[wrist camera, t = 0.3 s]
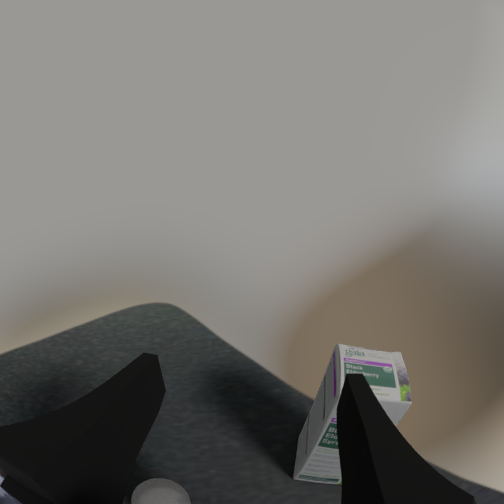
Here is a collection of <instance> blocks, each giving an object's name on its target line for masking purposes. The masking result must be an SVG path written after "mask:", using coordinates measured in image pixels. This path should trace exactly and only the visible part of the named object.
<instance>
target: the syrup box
mask: <svg viewBox="0 0 504 504" xmlns="http://www.w3.org/2000/svg"><path fill="white" fill-rule="evenodd" d="M346 373H362V374H363V375H364V376H365V378H366V380H367V382H368V384H369V386H370V387H371V389H372V391H373V393H374V394H375V396H376V398H377V399H378V401H379V403H380V404H381V406H382V407H383V409H384V410H385V412H386V413H387V415H388V416H389V418H390V419H391V421H392V422H393V424H394V425H395V426H396V425H397V424H398V422H399V421H400V419H401V418H402V417H403V415H404V414H405V412H406V411H407V410H408V408H409V406H410V405H411V403H412V398H411V391H410V386H409V380H408V375H407V371H406V367H405V364H404V361H403V358H402V355H401V352H384V351H379V350H374V349H368V348H361V347H354V346H348V345H343V344H336V346H335V348H334V351H333V354H332V356H331V359H330V362H329V365H328V367H327V370H326V373H325V375H324V378H323V381H322V383H321V385H320V388H319V391H318V393H317V396H316V398H315V401H314V403H313V405H312V408H311V410H310V412H309V415H308V417H307V419H306V422H305V424H304V426H303V429H302V431H301V433H300V435H299V438H298V446H297V454H296V461H295V468H294V475H293V479H294V480H303V481H310V482H318V483H328V484H342V479H341V468H340V459H339V449H338V440H337V405H338V402H339V398H340V395H341V391H342V388H343V384H344V380H345V377H346Z"/></svg>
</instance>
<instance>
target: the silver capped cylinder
mask: <svg viewBox="0 0 504 504" xmlns="http://www.w3.org/2000/svg"><path fill="white" fill-rule="evenodd" d="M131 504H192V502H191V498H190V496H189V494H188V492H187V491H186V490H185V489H184V488H183V487H182V486H181V485H179V484H178V483H176V482H174V481H172V480H168V479H164V478H154V479H149V480H146V481H144V482H142V483H140V484H139V485H138V486H137V487H136V488H135V490H134V491H133V493H132V497H131Z"/></svg>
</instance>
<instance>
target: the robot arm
mask: <svg viewBox="0 0 504 504" xmlns="http://www.w3.org/2000/svg"><path fill="white" fill-rule="evenodd" d="M165 391H166V390H165V386H164V381H163V377H162V373H161V369H160V364H159V360H158V355H153V354H148V353H143V354H141V355H140V356H139V357H138V358H136V359H135V360H134V361H132V362H131V363H130V364H129V365H127V366H126V367H125V368H123V369H122V370H121V371H120V372H118V373H117V374H116V375H114V376H113V377H112V378H110V379H109V380H108V381H106V382H105V383H103V384H102V385H100V386H99V387H97V388H96V389H94V390H93V391H91V392H90V393H88V394H87V395H85V396H84V397H82V398H80V399H79V400H77V401H75V402H73V403H71V404H69V405H67V406H65V407H63V408H61V409H59V410H56V411H54V412H52V413H49V414H47V415H44V416H41V417H38V418H35V419H32V420H29V421H25V422H21V423H17V424H12V425H7V426H1V427H0V467H1V468H2V469H3V470H4V472H5V473H6V474H7V476H6V477H5V479H4V478H3V477H2V476H1V475H0V504H122V503H123V499H124V495H125V492H126V488H127V485H128V481H129V478H130V475H131V472H132V469H133V466H134V463H135V460H136V458H137V456H138V453H139V451H140V449H141V447H142V445H143V443H144V441H145V439H146V437H147V435H148V433H149V431H150V429H151V427H152V425H153V423H154V421H155V419H156V416H157V414H158V412H159V410H160V407H161V404H162V401H163V398H164V394H165ZM337 440H338V449H339V459H340V468H341V479H342V499H341V504H476V502H475V499H474V496H472V495H470V494H469V493H467V492H465V491H464V490H462V489H460V488H459V487H457V486H456V485H454V484H453V483H451V482H450V481H449V480H447V479H446V478H445V477H443V476H442V475H441V474H440V473H438V472H437V471H436V470H435V469H434V468H433V467H432V466H430V465H429V464H428V463H427V462H426V461H425V460H424V459H423V458H422V457H421V456H420V455H419V454H418V453H417V452H416V451H415V450H414V449H413V448H412V446H411V445H410V444H409V443H408V442H407V441H406V439H405V438H404V437H403V436H402V434H401V433H400V432H399V430H398V429H397V428H396V426H395V425H394V424H393V422H392V421H391V419H390V418H389V416H388V415H387V413H386V412H385V410H384V409H383V407H382V406H381V404H380V403H379V401H378V399H377V398H376V396H375V394H374V393H373V391H372V389H371V387H370V386H369V384H368V382H367V380H366V378H365V376H364V375H363V374H362V373H346V377H345V380H344V384H343V388H342V391H341V395H340V398H339V402H338V405H337Z"/></svg>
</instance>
